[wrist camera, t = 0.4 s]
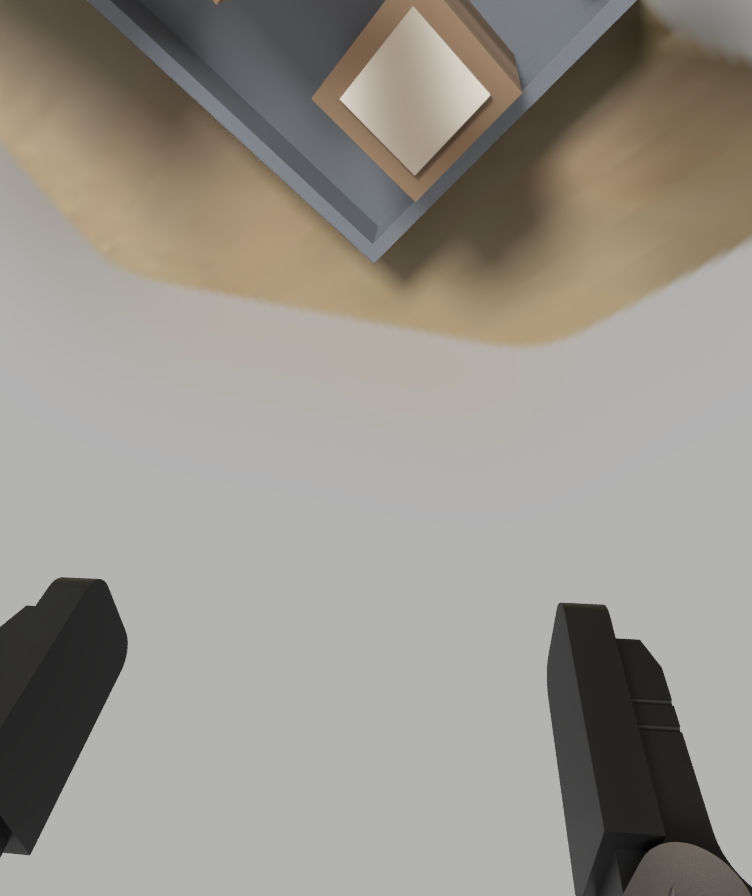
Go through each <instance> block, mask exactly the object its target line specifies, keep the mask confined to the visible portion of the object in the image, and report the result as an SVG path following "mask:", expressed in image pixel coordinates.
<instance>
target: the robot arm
mask: <svg viewBox="0 0 752 896" xmlns="http://www.w3.org/2000/svg"><path fill="white" fill-rule="evenodd" d="M127 645H128V641H127V634H126V631H125V628H124V626H123V624H122V621H121V618H120V616H119V613H118V611H117V608H116V606H115V603H114V600H113V598H112V595H111V593H110V590H109V588H108V585H107V584H106V582H105V581H103V580H101V579H85V578H64V577H61V578H58V579H56V580H55V581H54V582H53V583H51V585H50V586H49V587H48V589H47V590H46V592H45V593H44V595H43V596H42V598H41V599H40V600H39V602H38V603H37V605H36V606H25V607H24V608H23V609H22V610H21V611H19V612H18V613H17V614H16V615H14V616H13V617H12V618H11V619H9V620H8V621H7V622H6V623H5V624H3V625H2V626H1V627H0V857H1V855H2V853H13V854H23V855H30V854H31V852H32V850H33V848H34V846H35V844H36V842H37V839H38V838H39V836H40V834H41V832H42V830H43V828H44V826H45V824H46V822H47V820H48V818H49V816H50V814H51V812H52V810H53V808H54V806H55V804H56V802H57V800H58V797H59V795H60V793H61V791H62V789H63V787H64V785H65V783H66V781H67V779H68V777H69V775H70V773H71V771H72V769H73V767H74V765H75V763H76V761H77V759H78V757H79V755H80V753H81V751H82V749H83V747H84V745H85V743H86V741H87V739H88V737H89V735H90V733H91V731H92V728H93V727H94V725H95V723H96V720H97V719H98V716H99V714H100V712H101V710H102V708H103V706H104V704H105V702H106V700H107V698H108V696H109V694H110V692H111V690H112V688H113V686H114V684H115V682H116V680H117V678H118V676H119V674H120V672H121V670H122V668H123V665H124V662H125V659H126V654H127ZM547 687H548V698H549V706H550V713H551V720H552V727H553V735H554V742H555V749H556V757H557V764H558V771H559V778H560V785H561V793H562V800H563V807H564V815H565V821H566V829H567V837H568V844H569V851H570V858H571V865H572V873H573V880H574V888H575V895H576V896H752V887H751V886H750V885H749V884H747V882H745V881H744V879H742V878H741V877H740V876H739V874H738V873H737V872H736V871H735V870H734V868H733V867H732V866H731V865H730V863H729V862H728V860H727V859H726V857H725V856H724V855H723V853H722V851H721V849H720V847H719V845H718V843H717V841H716V838H715V836H714V833H713V830H712V827H711V824H710V820H709V817H708V814H707V811H706V808H705V804H704V802H703V798H702V795H701V792H700V788H699V785H698V782H697V779H696V776H695V773H694V769H693V766H692V763H691V760H690V756H689V753H688V750H687V747H686V744H685V740H684V737H683V734H682V733H681V732H680V725H679V721H678V718H677V715H676V712H675V709H674V706H672V703H671V700H672V699H671V696H670V693H669V690H668V686H667V683H666V680H665V677H664V673H663V670H662V668H661V666H660V665H659V664H658V662H657V661H656V660H655V659H654V657H653V656H652V655H651V653H649V651H648V650H647V648H646V647H645V646H644V645H643V643H642V642H641V641H640V640H633V639H616V638H615V634H614V630H613V626H612V622H611V619H610V615H609V611H608V609H607V607H606V606H605V605H596V604H576V603H559V604H558V607H557V611H556V617H555V622H554V628H553V633H552V640H551V645H550V650H549V656H548V665H547Z"/></svg>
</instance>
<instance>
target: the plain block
mask: <svg viewBox="0 0 752 896" xmlns="http://www.w3.org/2000/svg"><path fill="white" fill-rule="evenodd" d="M212 1H213V2H214V3H215V4H216V5H218V4H220V3H223V2H225V1H227V0H212Z"/></svg>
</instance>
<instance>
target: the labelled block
mask: <svg viewBox="0 0 752 896" xmlns="http://www.w3.org/2000/svg"><path fill="white" fill-rule="evenodd" d="M521 94H522V89H521V85H520V80H519V75H518V70H517V66H516V61H515V56H514V54H513V53H512V52H511V50H510V49H509V48H508V47H507V46H506V44H505V43H504V42H503V41H502V40H501V38H500V37H499V36H498V35H497V33H496V32H495V31H494V30H493V29H492V27H491V26H490V25H489V24H488V23H487V21H486V20H485V19H484V18H483V17H482V15H481V14H480V13H479V12H478V10H477V9H476V8H475V7H474V6H473V4H472V3H471V2H470V1H469V0H385V2H384V3H383V4H382V6H381V7H380V8H379V10H378V11H377V12H376V14H375V15H374V16H373V18H372V19H371V20H370V22H369V23H368V24H367V25H366V27H365V28H364V29H363V31H362V32H361V33H360V35H359V36H358V37H357V39H356V40H355V41H354V43H353V44H352V45H351V47H350V48H349V49H348V51H347V52H346V53H345V54H344V56H343V57H342V58H341V60H340V61H339V62H338V64H337V65H336V66H335V68H334V69H333V70H332V72H331V73H330V74H329V76H328V77H327V78H326V80H325V81H324V82H323V83H322V85H321V86H320V87H319V89H318V90H317V91H316V93H315V94H314V95H313V97H312V98H311V99H312V100H313V101H314V102H315V103H316V104H317V105H318V106H319V107H320V108H321V109H322V110H323V111H324V112H325V113H326V114H327V115H328V116H329V117H330V118H331V119H332V120H333V121H334V122H335V123H336V124H337V125H338V126H339V127H340V128H341V129H342V130H343V131H344V132H345V133H346V134H347V135H348V136H349V137H350V138H351V139H352V140H353V141H354V142H355V143H356V144H357V145H358V146H359V147H360V148H361V149H362V150H363V151H364V152H365V153H366V154H367V155H368V156H369V157H370V158H371V159H372V160H373V161H374V162H375V163H376V164H377V165H378V166H379V167H380V168H381V169H382V170H383V171H384V172H385V173H386V174H387V175H388V176H389V177H390V178H391V179H392V180H394V181H395V182H396V183H397V184H398V185H399V186H400V187H401V188H402V189H403V190H404V191H405V192H406V193H407V194H408V195H409V196H410V197H411V198H412V199H413V200H414V201H415V202H416V201H417V200H418V199H419V198H420V197H421V196H422V195H423V194H424V193H425V192H426V191H427V190H428V189H429V188H430V187H431V186H432V185H433V184H434V183H435V182H436V181H437V180H438V179H439V178H440V177H441V176H442V175H443V174H444V173H445V172H446V171H447V170H448V169H449V168H450V166H451V165H452V164H453V163H454V162H455V161H456V160H457V159H458V158H459V157H460V156H461V155H462V154H463V153H464V152H465V151H466V150H467V149H468V148H469V147H470V146H471V145H472V144H473V143H474V142H475V141H476V140H477V139H478V138H479V137H480V136H481V135H482V134H483V133H484V132H485V131H486V130H487V129H488V128H489V127H490V125H491V124H492V123H493V122H494V121H495V120H496V119H497V118H498V117H499V116H500V115H501V114H502V113H503V112H504V111H505V110H506V109H507V108H508V107H509V106H510V105H511V104H512V103H513V102H514V101H515V100H516V99H517V98H518V97H519V96H520V95H521Z"/></svg>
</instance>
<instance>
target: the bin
mask: <svg viewBox="0 0 752 896" xmlns="http://www.w3.org/2000/svg"><path fill="white" fill-rule="evenodd" d="M86 1H87V2H89V3H90V4H91V5H92V6H93V7H94V8H95V9H96V10H97V11H98V12H99V13H101V14H102V15H103V16H104V17H105V18H106V19H107V20H108V21H109V22H110V23H112V24H113V25H114V26H115V27H116V28H117V29H118V30H119V31H120V32H121V33H122V34H124V35H125V36H126V37H127V38H128V39H129V40H130V41H131V42H132V43H133V44H134V45H136V46H137V47H138V48H139V49H140V50H141V51H142V52H143V53H144V54H145V55H147V56H148V57H149V58H150V59H151V60H152V61H153V62H154V63H155V64H156V65H157V66H159V67H160V68H161V69H162V70H163V71H164V72H165V73H166V74H167V75H168V76H169V77H171V78H172V79H173V80H174V81H175V82H176V83H177V84H178V85H179V86H180V87H182V88H183V89H184V90H185V91H186V92H187V93H188V94H189V95H190V96H191V97H192V98H194V99H195V100H196V101H197V102H198V103H199V104H200V105H201V106H202V107H203V108H204V109H206V110H207V111H208V112H209V113H210V114H211V115H212V116H213V117H214V118H215V119H217V120H218V121H219V122H220V123H221V124H222V125H223V126H224V127H225V128H226V129H227V130H229V131H230V132H231V133H232V134H233V135H234V136H235V137H236V138H237V139H238V140H239V141H241V142H242V143H243V144H244V145H245V146H246V147H247V148H248V149H249V150H250V151H252V152H253V153H254V154H255V155H256V156H257V157H258V158H259V159H260V160H261V161H262V162H264V163H265V164H266V165H267V166H268V167H269V168H270V169H271V170H272V171H273V172H274V173H276V174H277V175H278V176H279V177H280V178H281V179H282V180H283V181H284V182H285V183H287V184H288V185H289V186H290V187H291V188H292V189H293V190H294V191H295V192H296V193H297V194H299V195H300V196H301V197H302V198H303V199H304V200H305V201H306V202H307V203H308V204H309V205H311V206H312V207H313V208H314V209H315V210H316V211H317V212H318V213H319V214H320V215H322V216H323V217H324V218H325V219H326V220H327V221H328V222H329V223H330V224H331V225H332V226H334V227H335V228H336V229H337V230H338V231H339V232H340V233H341V234H342V235H343V236H344V237H346V238H347V239H348V240H349V241H350V242H351V243H352V244H353V245H354V246H355V247H357V248H358V249H359V250H360V251H361V252H362V253H363V254H364V255H365V256H366V257H367V258H369V259H370V260H371V261H372V262H373V263H375V262H376V261H377V260H378V259H379V258H380V257H381V256H382V255H383V254H384V253H385V252H386V251H387V250H388V249H389V248H390V247H391V246H392V245H393V244H394V243H395V242H396V241H397V240H398V239H399V238H400V237H401V236H402V235H403V234H404V233H405V232H406V231H407V230H408V229H409V228H410V227H411V226H412V225H413V224H414V223H415V222H416V221H417V220H418V219H419V218H420V217H421V216H422V215H423V214H424V213H425V212H426V211H427V210H428V209H429V208H430V207H431V206H432V205H433V204H434V203H435V202H436V201H437V200H438V199H439V198H440V197H441V196H442V195H443V194H444V193H445V192H446V191H447V190H448V189H449V188H450V187H451V186H452V185H453V184H454V183H455V182H456V181H457V180H458V179H459V178H460V177H461V176H462V175H463V174H464V173H465V172H466V171H467V170H468V169H469V168H470V167H471V166H472V165H473V164H474V163H475V162H476V161H477V160H478V159H479V158H480V157H481V156H482V155H483V154H484V153H485V152H486V151H487V150H488V149H489V148H490V147H491V146H492V145H493V144H494V143H495V142H496V141H497V140H498V139H499V138H500V137H501V136H502V135H503V134H504V133H505V132H506V131H507V130H508V129H509V128H510V127H511V126H512V125H513V124H514V123H515V122H516V121H517V120H518V119H519V118H520V117H521V116H522V115H523V114H524V113H525V112H526V111H527V110H528V109H529V108H530V107H531V106H532V105H533V104H534V103H535V102H536V101H537V100H538V99H539V98H540V97H541V96H542V95H543V94H544V93H545V92H546V91H547V90H548V89H549V88H550V87H551V86H552V85H553V84H554V83H555V82H556V81H557V80H558V79H559V78H560V77H561V76H562V75H563V74H564V73H565V72H566V71H567V70H568V69H569V68H570V67H571V66H572V65H573V64H574V63H575V62H576V61H577V60H578V59H579V58H580V57H581V56H582V55H583V54H584V53H585V52H586V51H587V50H588V49H589V48H590V47H591V46H592V45H593V44H594V43H595V42H596V41H597V40H598V39H599V38H600V37H601V36H602V35H603V34H604V33H605V32H606V31H607V30H608V29H609V28H610V27H611V26H612V25H613V24H614V23H615V22H616V21H617V20H618V19H619V18H620V17H621V16H622V15H623V14H624V13H625V12H626V11H627V10H628V9H629V8H630V7H631V6H632V5H633V4H634V3H635V2H636V1H637V0H469V1H470V2H471V3H472V4H473V6H474V7H475V8H476V9H477V10H478V12H479V13H480V14H481V15H482V17H483V18H484V19H485V20H486V21H487V23H488V24H489V25H490V26H491V27H492V29H493V30H494V31H495V32H496V33H497V35H498V36H499V37H500V38H501V40H502V41H503V42H504V43H505V44H506V46H507V47H508V48H509V49H510V50H511V52H512V53H513V54H514V56H515V61H516V66H517V70H518V75H519V80H520V85H521V89H522V94H521V95H520V96H519V97H518V98H517V99H516V100H515V101H514V102H513V103H512V104H511V105H510V106H509V107H508V108H507V109H506V110H505V111H504V112H503V113H502V114H501V115H500V116H499V117H498V118H497V119H496V120H495V121H494V122H493V123H492V124H491V125H490V127H489V128H488V129H487V130H486V131H485V132H484V133H483V134H482V135H481V136H480V137H479V138H478V139H477V140H476V141H475V142H474V143H473V144H472V145H471V146H470V147H469V148H468V149H467V150H466V151H465V152H464V153H463V154H462V155H461V156H460V157H459V158H458V159H457V160H456V161H455V162H454V163H453V164H452V165H451V166H450V168H449V169H448V170H447V171H446V172H445V173H444V174H443V175H442V176H441V177H440V178H439V179H438V180H437V181H436V182H435V183H434V184H433V185H432V186H431V187H430V188H429V189H428V190H427V191H426V192H425V193H424V194H423V195H422V196H421V197H420V198H419V199H418V200H417V201H416V202H415V201H414V200H413V199H412V198H411V197H410V196H409V195H408V194H407V193H406V192H405V191H404V190H403V189H402V188H401V187H400V186H399V185H398V184H397V183H396V182H395V181H394V180H392V179H391V178H390V177H389V176H388V175H387V174H386V173H385V172H384V171H383V170H382V169H381V168H380V167H379V166H378V165H377V164H376V163H375V162H374V161H373V160H372V159H371V158H370V157H369V156H368V155H367V154H366V153H365V152H364V151H363V150H362V149H361V148H360V147H359V146H358V145H357V144H356V143H355V142H354V141H353V140H352V139H351V138H350V137H349V136H348V135H347V134H346V133H345V132H344V131H343V130H342V129H341V128H340V127H339V126H338V125H337V124H336V123H335V122H334V121H333V120H332V119H331V118H330V117H329V116H328V115H327V114H326V113H325V112H324V111H323V110H322V109H321V108H320V107H319V106H318V105H317V104H316V103H315V102H314V101H313V100H312V99H311V98H312V97H313V95H314V94H315V93H316V91H317V90H318V89H319V87H320V86H321V85H322V83H323V82H324V81H325V80H326V78H327V77H328V76H329V74H330V73H331V72H332V70H333V69H334V68H335V66H336V65H337V64H338V62H339V61H340V60H341V58H342V57H343V56H344V54H345V53H346V52H347V51H348V49H349V48H350V47H351V45H352V44H353V43H354V41H355V40H356V39H357V37H358V36H359V35H360V33H361V32H362V31H363V29H364V28H365V27H366V25H367V24H368V23H369V22H370V20H371V19H372V18H373V16H374V15H375V14H376V12H377V11H378V10H379V8H380V7H381V6H382V4H383V3H384V2H385V0H227V1H225V2H223V3H220V4H218V5H216V4H215V3H214V2H213V1H212V0H86Z"/></svg>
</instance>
